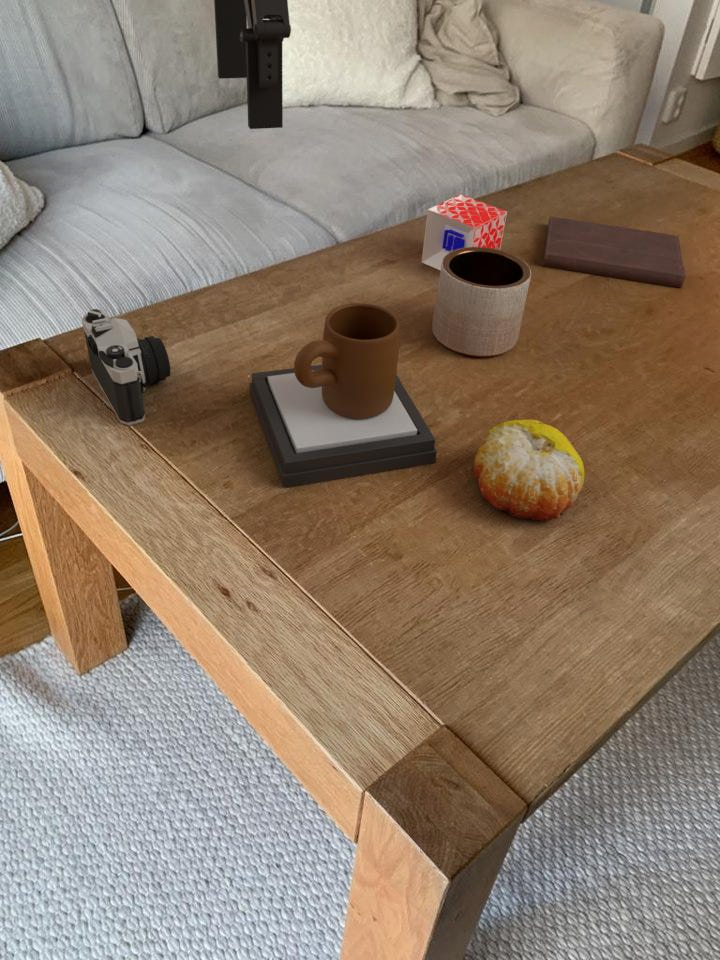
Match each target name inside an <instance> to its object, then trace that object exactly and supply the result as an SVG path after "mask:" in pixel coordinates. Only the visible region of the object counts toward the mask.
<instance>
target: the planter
mask: <svg viewBox="0 0 720 960" xmlns="http://www.w3.org/2000/svg"><path fill="white" fill-rule="evenodd" d="M531 277H532V270H531V268H530V266H529V265H528V263H527V262H526V261H525V260H523V259H522V258H521V257H519V256H517V255H515V254H513V253H511V252H508V251H506V250H501V249H500V250H498V249H494V248H487V247H466V248H461V249H457V250H454V251H451V252H450V253H448V254H447V255H445V256H444V258H443V259H442V263H441V270H439V277H438V278H439V279H438V285H437V291H436V297H435V303H434V305H435V306H434V309H433V316H432V322H431V323H432V324H431V331H432V334H433V336H434V338H435V339H436V340H437V341H438V342H439V343H440V344H441V345H443V346H444V347H445V348H446V349H448V350H451V351H453V352H454V353H456V354H460V355H464V356H467V357H476V358H488V357H496V356H500V355H502V354H505V353H507V352H509V351H510V350H512V349H513V348H514V347H515V346H516V345H517V342H518V340H519V337H520V333H521V327H522V322H523V319H524V318H523V316H524V312H525V305H526V302H527V296H528V292H529V287H530V283H531Z"/></svg>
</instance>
